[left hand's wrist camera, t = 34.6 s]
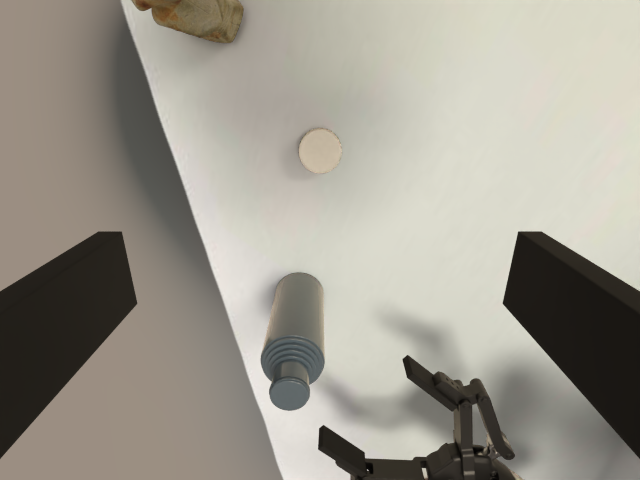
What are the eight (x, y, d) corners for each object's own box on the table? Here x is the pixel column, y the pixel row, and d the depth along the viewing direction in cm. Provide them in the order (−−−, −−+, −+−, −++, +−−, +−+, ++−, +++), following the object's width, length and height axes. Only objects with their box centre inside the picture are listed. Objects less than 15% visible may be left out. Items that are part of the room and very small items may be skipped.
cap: (293, 135, 40) (292, 137, 38) (333, 121, 39) (334, 123, 37) (307, 175, 41) (306, 179, 39) (346, 162, 41) (347, 166, 39)
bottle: (333, 295, 47) (340, 399, 31) (298, 322, 49) (287, 433, 33) (301, 263, 45) (291, 355, 29) (266, 291, 47) (237, 393, 31)
